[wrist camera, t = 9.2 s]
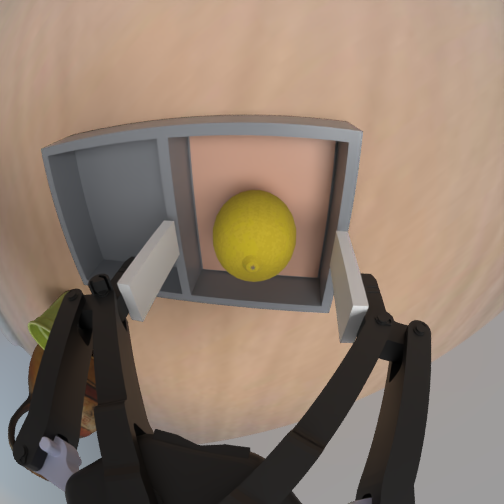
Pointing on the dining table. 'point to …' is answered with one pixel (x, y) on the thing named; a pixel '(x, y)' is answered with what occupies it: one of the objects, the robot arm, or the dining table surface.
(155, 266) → the robot arm
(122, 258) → the sorting tray
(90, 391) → the ceramic pitcher
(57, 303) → the plant pot
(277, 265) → the lemon
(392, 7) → the dining table surface
